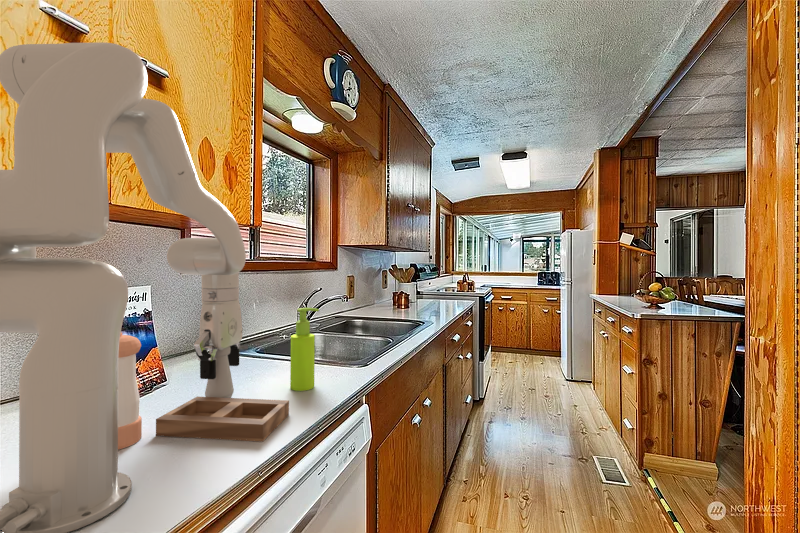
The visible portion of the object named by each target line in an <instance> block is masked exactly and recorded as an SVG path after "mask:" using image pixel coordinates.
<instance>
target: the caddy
mask: <svg viewBox="0 0 800 533" xmlns="http://www.w3.org/2000/svg"><path fill="white" fill-rule="evenodd" d="M289 416H290V400H288V399H287V400H283V399H282V400H281V399H263V398H243V397H242V398H241V397H240V398H237V397H236V398H235V397H231V398H220V397H206V396H196V397H194V398H192V399H190V400H188V401H187V402H185V403H183V404H181V405H179V406H177V407H176V408H173V409H172V410H170V411H169V412H166V413H165V414H162V415H161V416H159V417H158V418H156V419H155V436H156V437H171V438H187V439H191V438H192V439H207V440H224V441H225V440H226V441H246V442H259V443H260V442H261V443H263V442H264V441H265V440H266V439H267V438H268V437H269V436H270V435H271V434H272V433H273V432H274V431H275V430H276V429H277V428H278V427H279V426H280V424H282V423H283V422H284V421H285V420H286V419H287V418H288V417H289Z"/></svg>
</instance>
